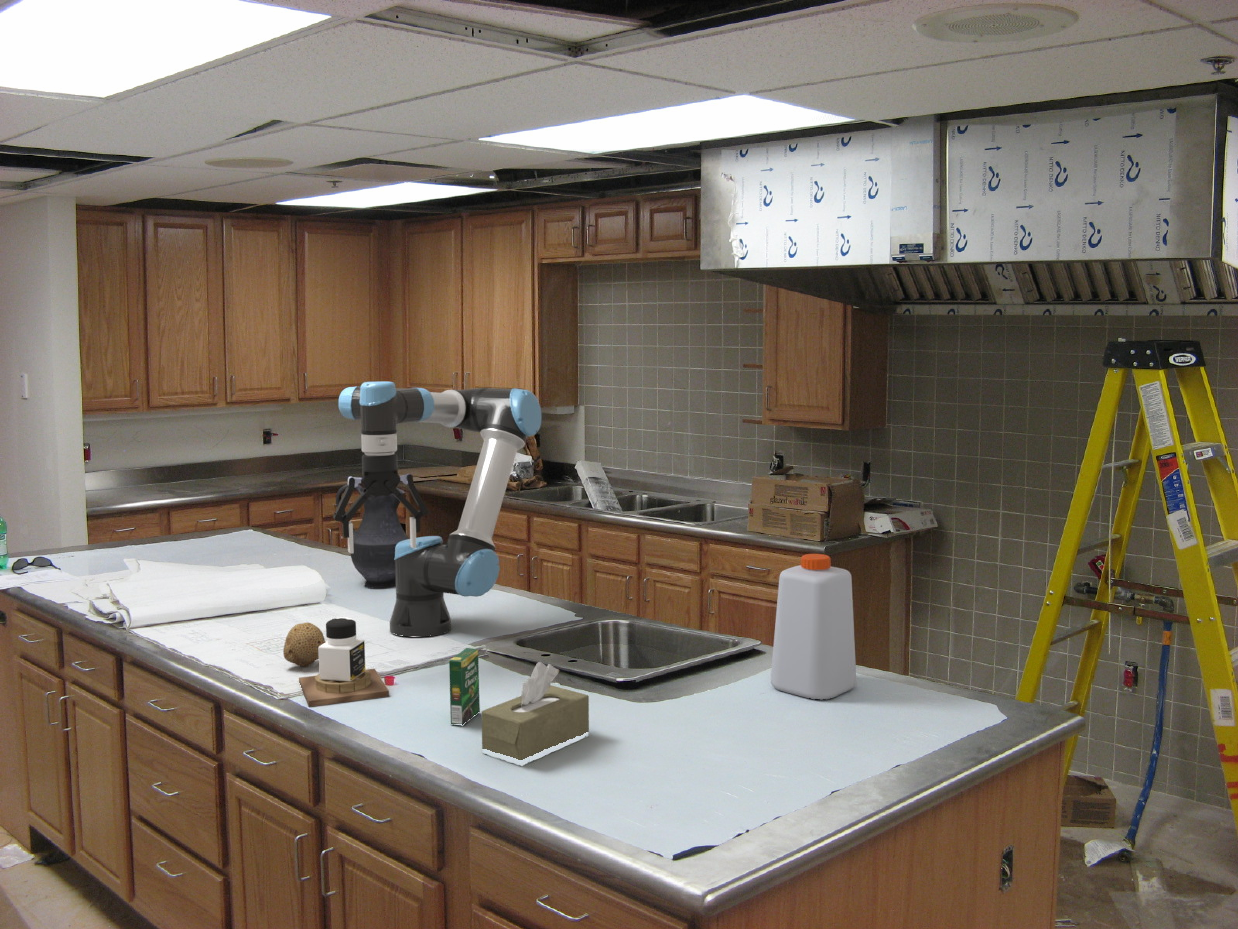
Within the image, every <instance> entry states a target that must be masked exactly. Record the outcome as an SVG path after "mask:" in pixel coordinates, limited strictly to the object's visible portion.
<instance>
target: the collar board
mask: <svg viewBox="0 0 1238 929" xmlns="http://www.w3.org/2000/svg"><path fill="white" fill-rule="evenodd" d="M299 683H300V684H299ZM298 684H299V686H300V685H301V687H300V688H302V689H301V691H303V692H302V694H303V696H304V699H305V701H306V704H307V706H308V707H309V708H310V707H319V706H325V705H326V706H327V705H335V704H341V703H350V702H357V701H364V700H365V701H366V700H373V699H379V698H380V699H381V698H388V697H390V690H389V689H388V687H387V686H386V684H385V682H384V681H383V680H382V678H381V676H380V674H379V673H378V671H377V670H376V668H367V669H365V672H364V673H362V674H361V675H359V676H358V677H357V678H355V679H354V680H352V681H351V682H347V681H332V680H320V678H319V673H318V674H317V675H311V676H303V677H302V676H300V677H298Z"/></svg>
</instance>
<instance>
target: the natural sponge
mask: <svg viewBox="0 0 1238 929" xmlns="http://www.w3.org/2000/svg"><path fill="white" fill-rule="evenodd" d="M325 642H326V638H325V636H324V633H323V632H322V630H321V629H320V627H318V625H317V626H316V625H315V624H313V623H312V622H301V623H296V624H295V625H293V627H292V628H290V630H289V631H288V633H287V635H286V637H285V641H284V646H283V657H284V659H285V660H286V661H287V662H289V663H291V664H294V665H297V666H298V667H303V668H307V667H309V666H311V665H312V664H314V662H316V661H317V660H319V651H318V647H319V646H321V645H322V644H324V643H325Z"/></svg>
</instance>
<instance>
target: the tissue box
mask: <svg viewBox="0 0 1238 929" xmlns="http://www.w3.org/2000/svg"><path fill="white" fill-rule="evenodd" d="M559 672H560V669H558V668H556V667H554V666H553V665H552V664H550V663H548V664H547V665H546V664H544V663H543V662H542V661H538V662H537V663H536V665H535V666H534V668H533V670H532V672H531V675H530V677H528V679H526V680H525V681H524V682H523V683H522V689H521V695H520V696H517V697H515V698H512V699H509V700H507V701H504V702H501V703H499V704H496V705H494V706H491V707H489V708H485V709H483V710H481V746H482V747H481V750H482V749H487V750H490V751H492V752H495V753H500V754H503V755H506V756H510V757H513V758H516V759H518V760H523V759H525V758H527V757H529V756H533V755H534V754H536V753H539V752H541V751H543V750H544V749H548V748H550V747H552V746H556V745H558V744H559V743H563V742H566V741H567V740H569V739H573V738H575V737H576V736H581V735H583V734H584V733H586V732H589V733H590V729H589V728H590V725H589V724H590V719H589V718H590V714H589V713H590V708H589V707H590V704H589V702H590V700H589V699H590V698H589V695H588V694H585V693H582V692H581V693H580V692H577V691H574V690H571V689H566V688H563V687H559V686H556V685H553V684H552V682H553V680H554V679H555V678H556V677H557V675H558V674H559Z"/></svg>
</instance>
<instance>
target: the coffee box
mask: <svg viewBox="0 0 1238 929" xmlns="http://www.w3.org/2000/svg"><path fill="white" fill-rule="evenodd" d="M448 661H449V663H448V669H449V670H448V671H449V705H450V706H449V707H450V712H449V714H450V725H451V724H462V725H463V724H464V723H465V722H467V721H468V720H469V719H471V718H472V717H473V716H474V715H476V714H477V713H478V712H481V711H480V710H481V706H480V702H481V701H480V675H479V674H480V673H479V668H480V667H479V649H477V648H470V647H466V648H464V649H463V650H462V651H460V652H459V653H458V654H456V655H455V656H453V657H452V658H450V659H449V660H448ZM477 715H478V714H477ZM477 715H476V716H477ZM472 719H473V718H472ZM472 719H471V720H472Z"/></svg>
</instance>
